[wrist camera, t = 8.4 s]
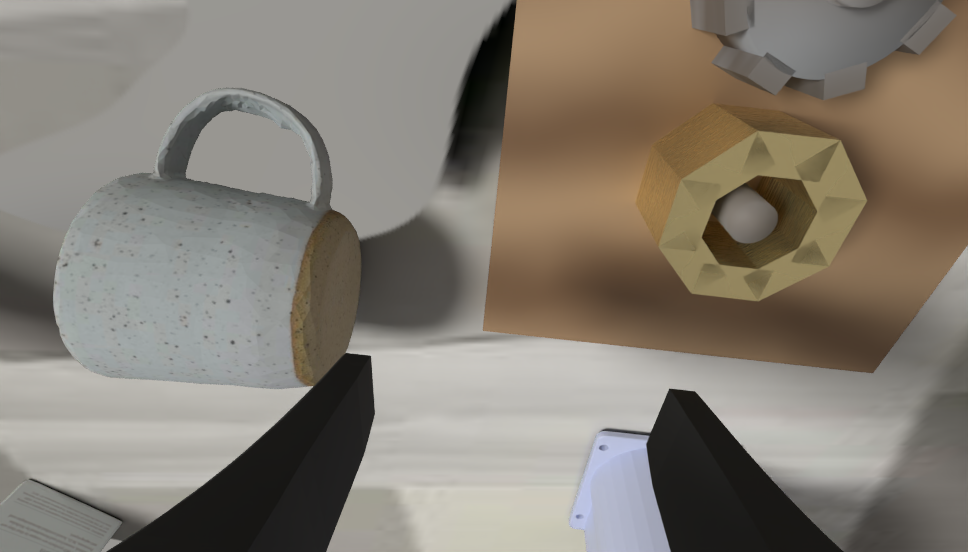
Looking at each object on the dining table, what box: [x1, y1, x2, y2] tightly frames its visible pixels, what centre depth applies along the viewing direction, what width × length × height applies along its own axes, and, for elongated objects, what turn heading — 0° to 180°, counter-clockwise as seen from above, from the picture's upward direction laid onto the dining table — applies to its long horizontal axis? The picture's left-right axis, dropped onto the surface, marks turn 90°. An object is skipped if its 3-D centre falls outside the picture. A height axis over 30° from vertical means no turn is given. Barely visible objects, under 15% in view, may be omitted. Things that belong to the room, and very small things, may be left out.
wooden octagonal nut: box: [635, 103, 867, 301], centre depth 15 cm, size 5×5×4 cm
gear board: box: [483, 0, 968, 373], centre depth 15 cm, size 18×18×5 cm
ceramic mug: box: [53, 88, 361, 389], centre depth 17 cm, size 11×8×8 cm
